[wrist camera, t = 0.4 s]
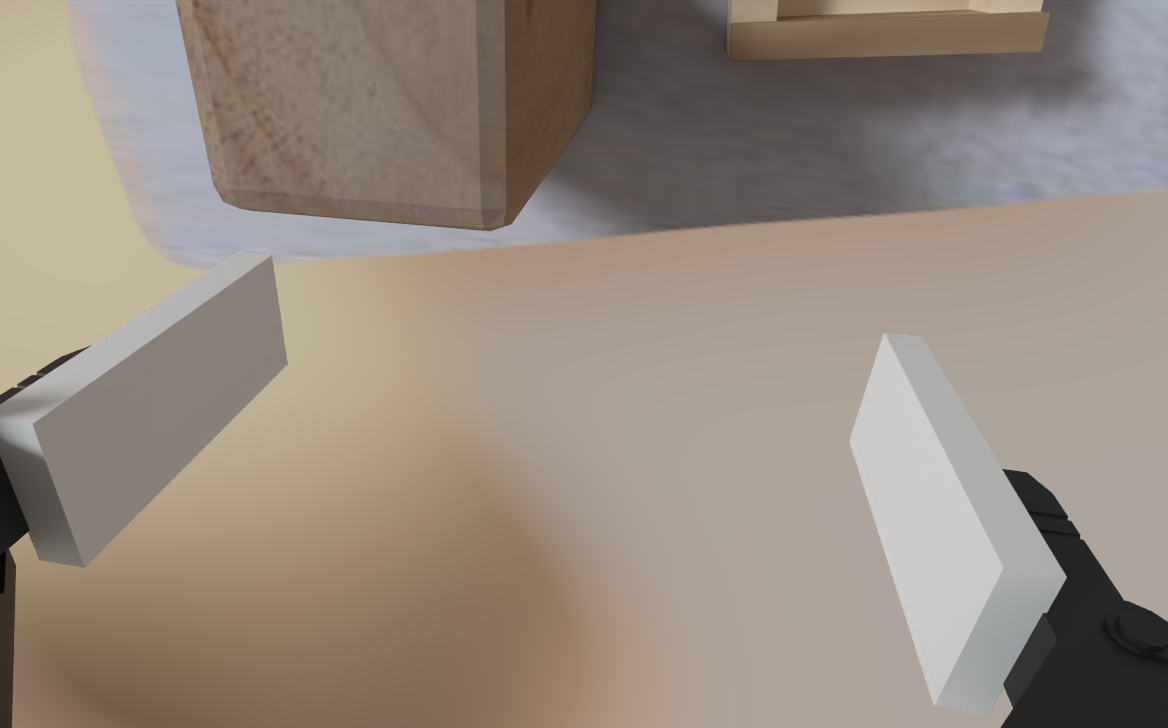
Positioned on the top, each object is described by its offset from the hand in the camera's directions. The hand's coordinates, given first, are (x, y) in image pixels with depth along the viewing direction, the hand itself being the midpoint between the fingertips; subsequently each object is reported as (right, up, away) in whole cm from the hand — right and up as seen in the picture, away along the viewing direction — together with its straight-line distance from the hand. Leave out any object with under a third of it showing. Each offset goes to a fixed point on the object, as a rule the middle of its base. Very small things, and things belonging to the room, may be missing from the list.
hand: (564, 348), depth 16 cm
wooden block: (-4, +18, +22) cm, 29 cm away
